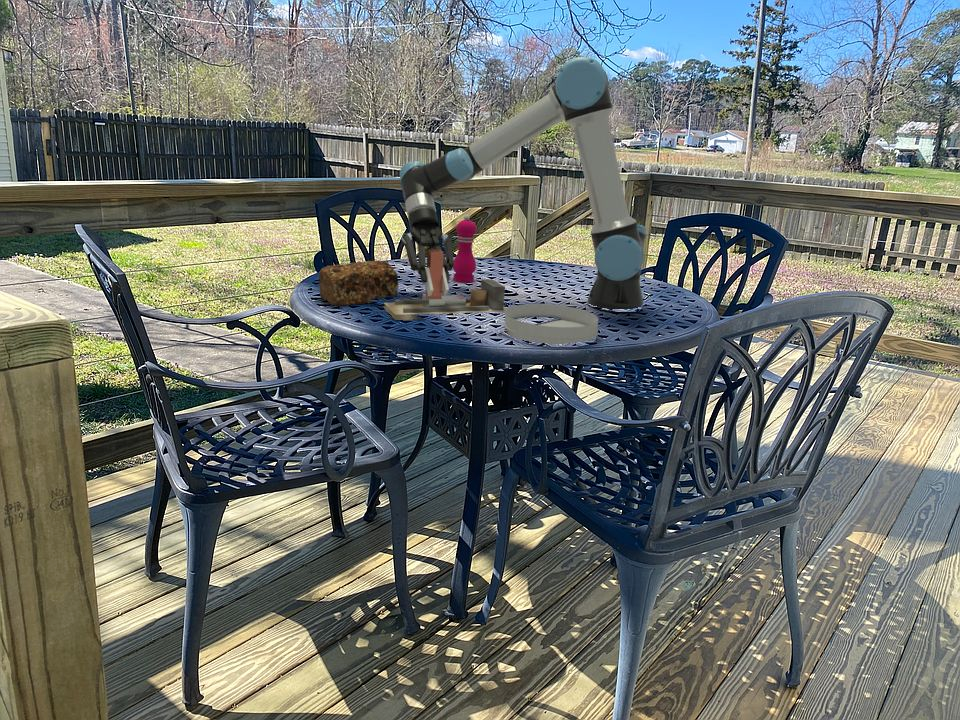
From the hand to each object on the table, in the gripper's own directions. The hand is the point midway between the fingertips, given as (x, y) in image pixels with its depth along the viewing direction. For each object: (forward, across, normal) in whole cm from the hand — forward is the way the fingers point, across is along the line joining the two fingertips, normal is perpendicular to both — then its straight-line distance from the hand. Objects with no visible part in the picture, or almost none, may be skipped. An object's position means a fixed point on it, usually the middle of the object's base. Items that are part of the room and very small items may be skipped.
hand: (438, 292), depth 180 cm
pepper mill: (-25, -21, -34) cm, 47 cm away
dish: (+18, -22, +8) cm, 29 cm away
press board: (+2, -4, -7) cm, 8 cm away
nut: (+1, -12, -6) cm, 13 cm away
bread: (-10, +16, -19) cm, 26 cm away
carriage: (0, -3, -6) cm, 7 cm away
